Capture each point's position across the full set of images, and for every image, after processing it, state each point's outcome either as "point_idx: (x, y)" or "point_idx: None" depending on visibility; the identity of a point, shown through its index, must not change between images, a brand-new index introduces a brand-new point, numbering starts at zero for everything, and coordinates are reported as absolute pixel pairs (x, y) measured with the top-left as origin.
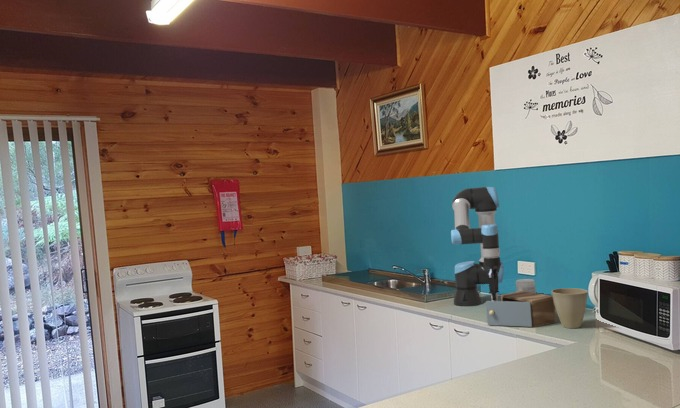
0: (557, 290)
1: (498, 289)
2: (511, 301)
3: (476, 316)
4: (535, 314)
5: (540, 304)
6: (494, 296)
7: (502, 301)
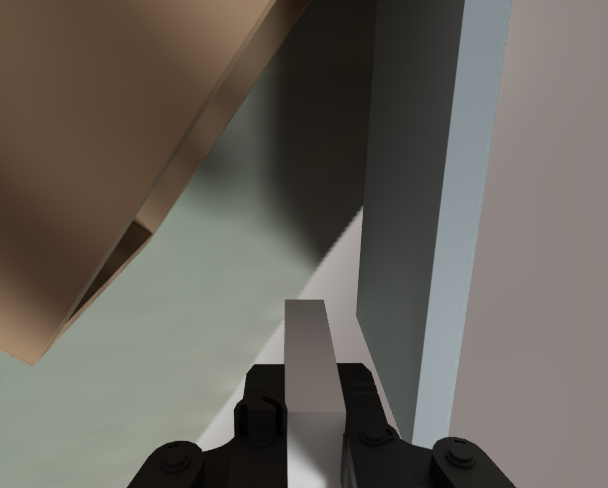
0: None
1: (176, 450)
2: (450, 114)
3: (94, 451)
4: None
5: None
6: (379, 411)
7: (452, 254)
